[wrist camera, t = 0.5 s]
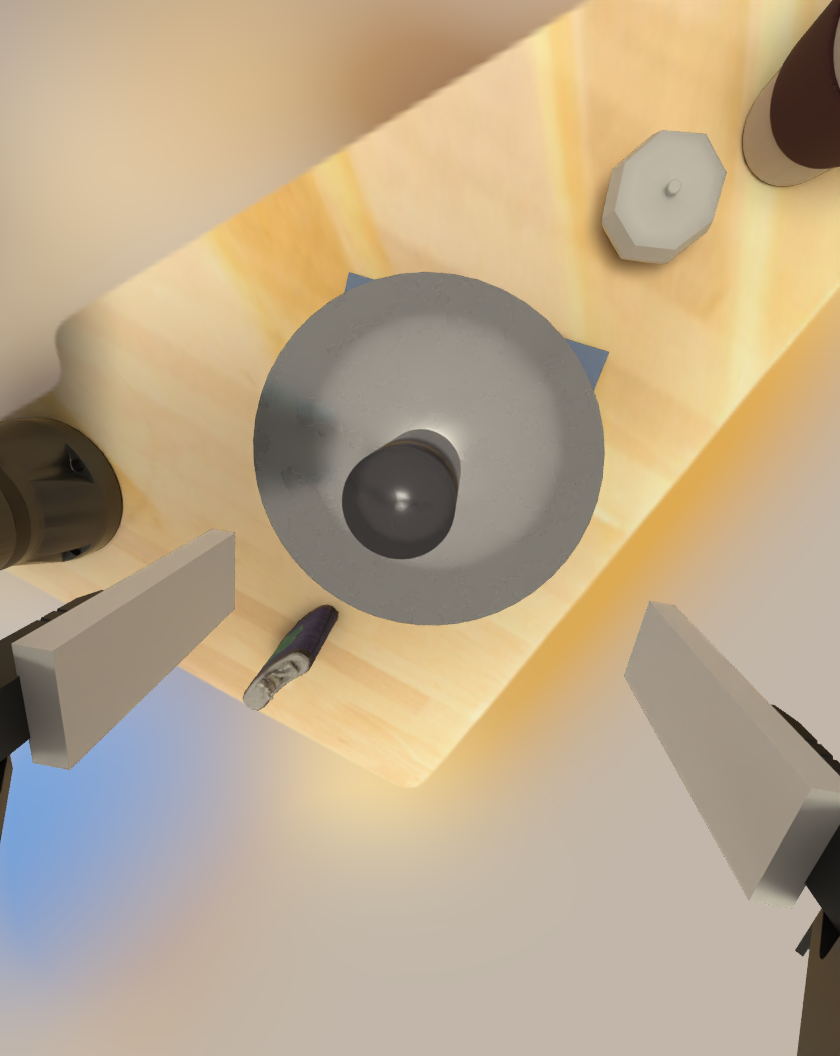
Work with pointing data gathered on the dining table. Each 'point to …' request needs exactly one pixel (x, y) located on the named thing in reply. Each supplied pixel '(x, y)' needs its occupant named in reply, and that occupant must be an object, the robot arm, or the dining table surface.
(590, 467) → the cake dome
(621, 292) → the dining table surface
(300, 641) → the flask
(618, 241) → the grey faceted round piece
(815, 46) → the coffee cup
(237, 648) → the dining table surface
